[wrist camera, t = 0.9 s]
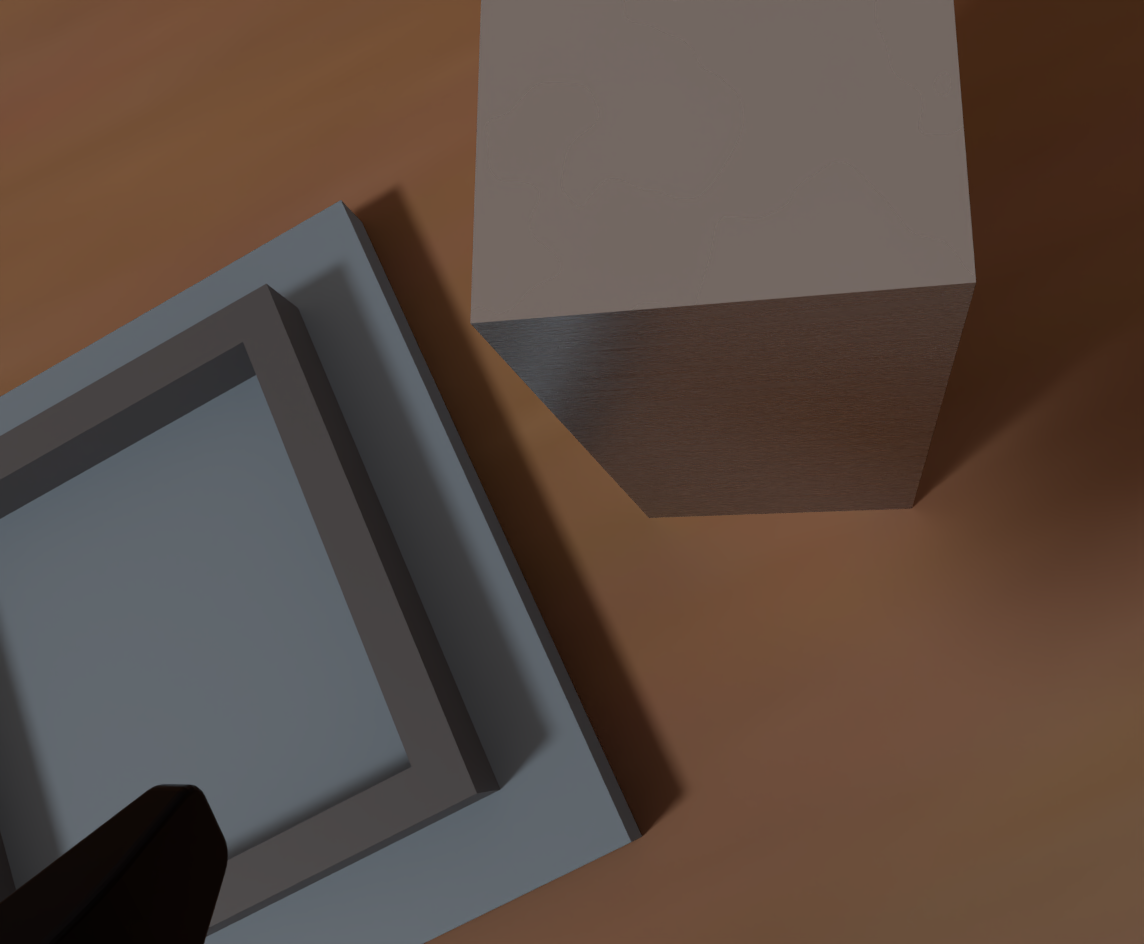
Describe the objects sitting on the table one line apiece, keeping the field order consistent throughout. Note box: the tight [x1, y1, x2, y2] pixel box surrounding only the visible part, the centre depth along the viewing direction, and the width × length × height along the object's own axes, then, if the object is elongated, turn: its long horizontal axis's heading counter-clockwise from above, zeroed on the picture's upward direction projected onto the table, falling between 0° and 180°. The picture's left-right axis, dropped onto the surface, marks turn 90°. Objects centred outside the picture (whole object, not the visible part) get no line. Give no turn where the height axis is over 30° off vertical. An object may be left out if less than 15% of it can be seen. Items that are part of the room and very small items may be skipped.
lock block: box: [471, 0, 976, 518], centre depth 18 cm, size 6×6×12 cm
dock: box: [0, 200, 642, 944], centre depth 24 cm, size 16×16×3 cm
